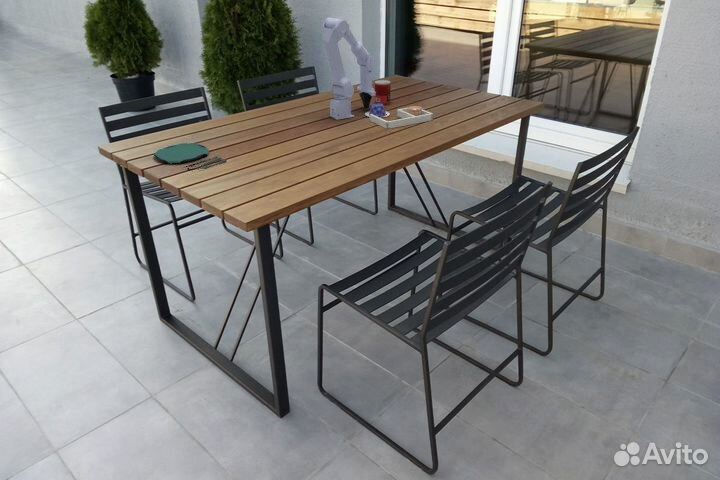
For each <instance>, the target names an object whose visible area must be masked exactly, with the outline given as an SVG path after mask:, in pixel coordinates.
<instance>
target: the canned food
mask: <svg viewBox="0 0 720 480" xmlns="http://www.w3.org/2000/svg"><path fill="white" fill-rule="evenodd" d="M374 91H375V92H376V96H374V102H375V103H374V104H377V103H379V104H383V105H384V106H387V105H388V106H389V105H390V104H391V81H390V80H388V79H387V80H385V79H382V80H381V79H380V80H379V79H378V80H375V81H374Z"/></svg>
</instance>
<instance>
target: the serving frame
mask: <svg viewBox="0 0 720 480" xmlns="http://www.w3.org/2000/svg"><path fill="white" fill-rule="evenodd" d="M408 112H409V110H408V107H404V108H400V109H399V108H398V109H396V116H397V117H399V119H393V120H389V121H388V120H385V119H383V118H382V117H381V118H379V117H377V116H375V115H373V114H370V117H369V121H370V122H372V123H374V124H375V125H378V126H380V127H381V128H384V129H386V130H390V129H394V128H399V127H403V126H404V127H405V126H409V125H415V124H419V123H421V124H422V123H425V122H431V121H433V120H434V113H432V112H429V111H427V110H425V109H422V110H421V115H420V116H414V115H412V114H409V113H408Z"/></svg>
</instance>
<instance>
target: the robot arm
mask: <svg viewBox="0 0 720 480" xmlns="http://www.w3.org/2000/svg"><path fill="white" fill-rule="evenodd" d="M322 29H323V41H324V42H323V45H324V47H325V50H326V51H325V52H326V54H327V58H328V63H329V65H330V69H331V74H332V76H333V77H332V78H333V79H332V80H331V81H330V84H331V92H332V95H333V97H334V98H333V99H331V100H329V109H330V110H329V111H330V112H329V114H330V115H329V117H330V118H332V119H335V120H337V121H338V120H343V119H349V118H355V115H354V114H352V105H351V102H352V100H351V99H352V97H353V96H354V93H355V89H354V86H353V85H352V82H351V80H350V79H349V78H348V77H347V76H346V72H345V68H344V64H343V61H342V57H341V52H340V49H339V46H338V45H339V41H341V40H342V38H344V39H345V42H347V44H349V46H350V51H351V52H352V54H353V55H354V57H355V58H356V63H357V65H359V79H360V80H359V83H360V84H359V85H358V86H356V90H357V91H358V92H360V93H359V94H358V95H359V97H360V99H361V101H362V105H363V108H364V109H369V108H370V106H371V105H370V104H371V102H372V101H371V100H372V99H373V97H375V96H376V92H375V87H373V69H374V64H375V62H376V61H375V57H374V56H373V55H372V54H370V53H369V51H368V50H367V49H366V48H365V46H364V43H363V42H362V41H358V40H357V38H356V37H355V35H354V34H353V32H352V30H351V29H350V24H349V23H348V21H347V20H346V19H345V18H336V17H329V16H328V17H327V18H326V19H325V20H324V22H323V23H322Z"/></svg>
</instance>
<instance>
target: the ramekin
mask: <svg viewBox="0 0 720 480" xmlns="http://www.w3.org/2000/svg"><path fill="white" fill-rule="evenodd" d="M407 108H408V110H409V112H408V113H409V114H412V115H414V116H420V115H421V110H423V107H422V106H420V105H409V106H408V107H407Z"/></svg>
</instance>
